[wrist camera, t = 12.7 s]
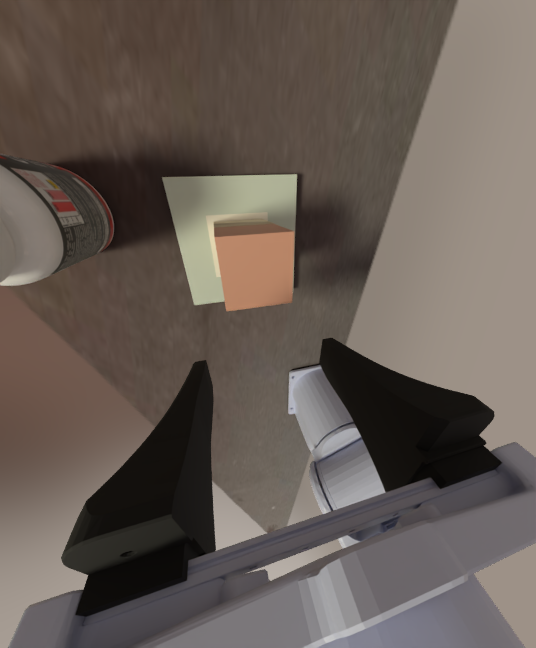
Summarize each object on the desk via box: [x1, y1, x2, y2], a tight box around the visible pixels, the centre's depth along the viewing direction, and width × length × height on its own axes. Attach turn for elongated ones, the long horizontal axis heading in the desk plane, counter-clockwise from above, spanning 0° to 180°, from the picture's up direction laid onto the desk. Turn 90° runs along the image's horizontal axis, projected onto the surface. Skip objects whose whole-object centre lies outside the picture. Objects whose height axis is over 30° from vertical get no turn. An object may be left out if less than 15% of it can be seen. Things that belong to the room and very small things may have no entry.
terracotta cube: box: [214, 224, 294, 311], centre depth 13 cm, size 4×4×4 cm
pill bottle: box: [0, 154, 114, 286], centre depth 11 cm, size 6×6×10 cm
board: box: [162, 174, 297, 305], centre depth 18 cm, size 10×10×1 cm
